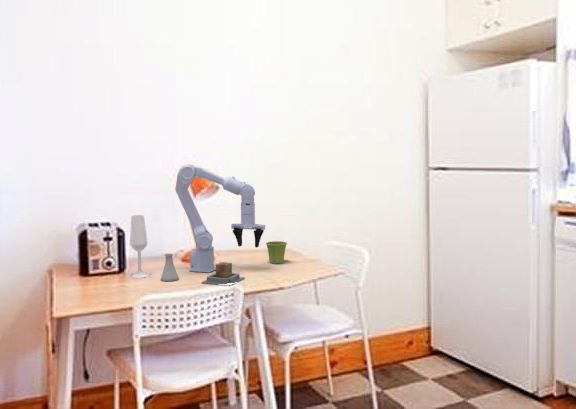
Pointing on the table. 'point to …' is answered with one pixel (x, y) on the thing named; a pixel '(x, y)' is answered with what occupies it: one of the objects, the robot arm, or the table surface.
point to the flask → (169, 269)
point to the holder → (222, 279)
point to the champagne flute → (138, 240)
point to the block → (223, 270)
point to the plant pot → (276, 251)
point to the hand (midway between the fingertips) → (248, 246)
